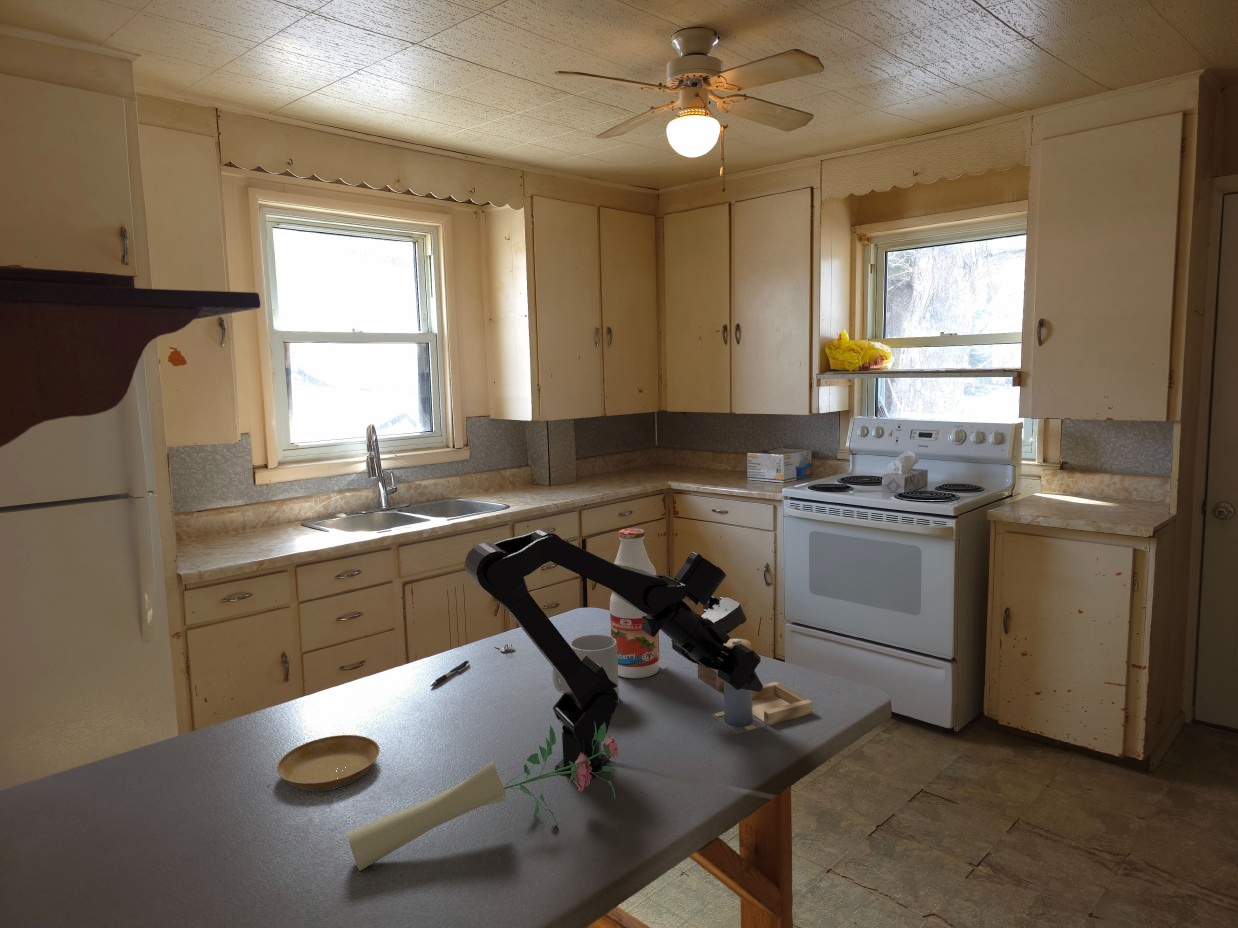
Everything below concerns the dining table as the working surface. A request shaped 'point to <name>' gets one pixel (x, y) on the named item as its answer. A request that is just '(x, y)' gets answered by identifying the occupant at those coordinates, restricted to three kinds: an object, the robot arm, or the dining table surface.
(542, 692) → the dining table surface
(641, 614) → the fruit juice
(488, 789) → the flower vase
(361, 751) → the plant saucer
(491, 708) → the dining table surface
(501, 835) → the dining table surface
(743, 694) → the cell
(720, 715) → the pad
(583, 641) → the mug
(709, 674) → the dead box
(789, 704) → the light wooden tray
